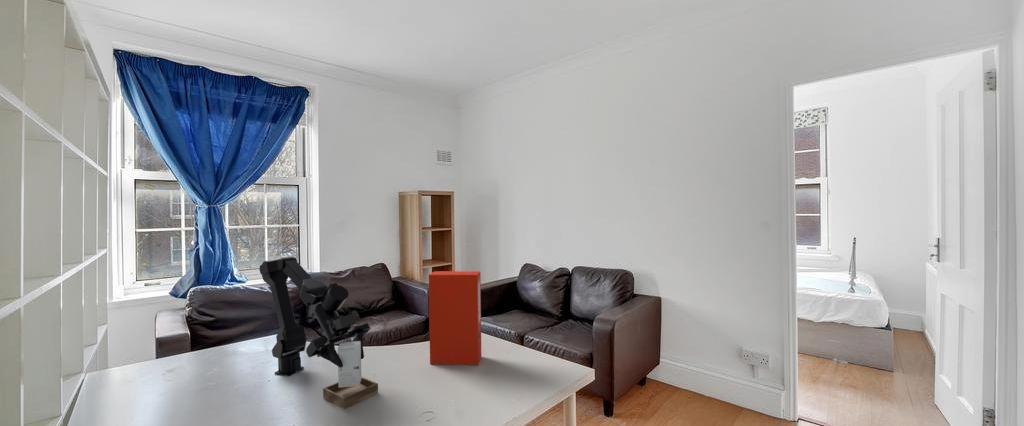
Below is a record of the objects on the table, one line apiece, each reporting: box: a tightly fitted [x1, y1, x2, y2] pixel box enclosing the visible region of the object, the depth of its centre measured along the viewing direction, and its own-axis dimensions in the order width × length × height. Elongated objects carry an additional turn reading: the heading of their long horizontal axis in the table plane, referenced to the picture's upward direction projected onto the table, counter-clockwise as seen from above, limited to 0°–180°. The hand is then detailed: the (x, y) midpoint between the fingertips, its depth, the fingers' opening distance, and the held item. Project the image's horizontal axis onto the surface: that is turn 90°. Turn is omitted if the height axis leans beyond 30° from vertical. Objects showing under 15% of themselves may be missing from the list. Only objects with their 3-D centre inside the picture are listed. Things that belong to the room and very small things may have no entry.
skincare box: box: [337, 341, 362, 388], centre depth 117 cm, size 6×4×12 cm
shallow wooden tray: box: [322, 376, 379, 410], centre depth 117 cm, size 11×11×3 cm
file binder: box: [428, 270, 482, 366], centre depth 142 cm, size 8×17×32 cm, turn 86°
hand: (352, 362), depth 117 cm, fingers closed on skincare box, 7 cm apart
